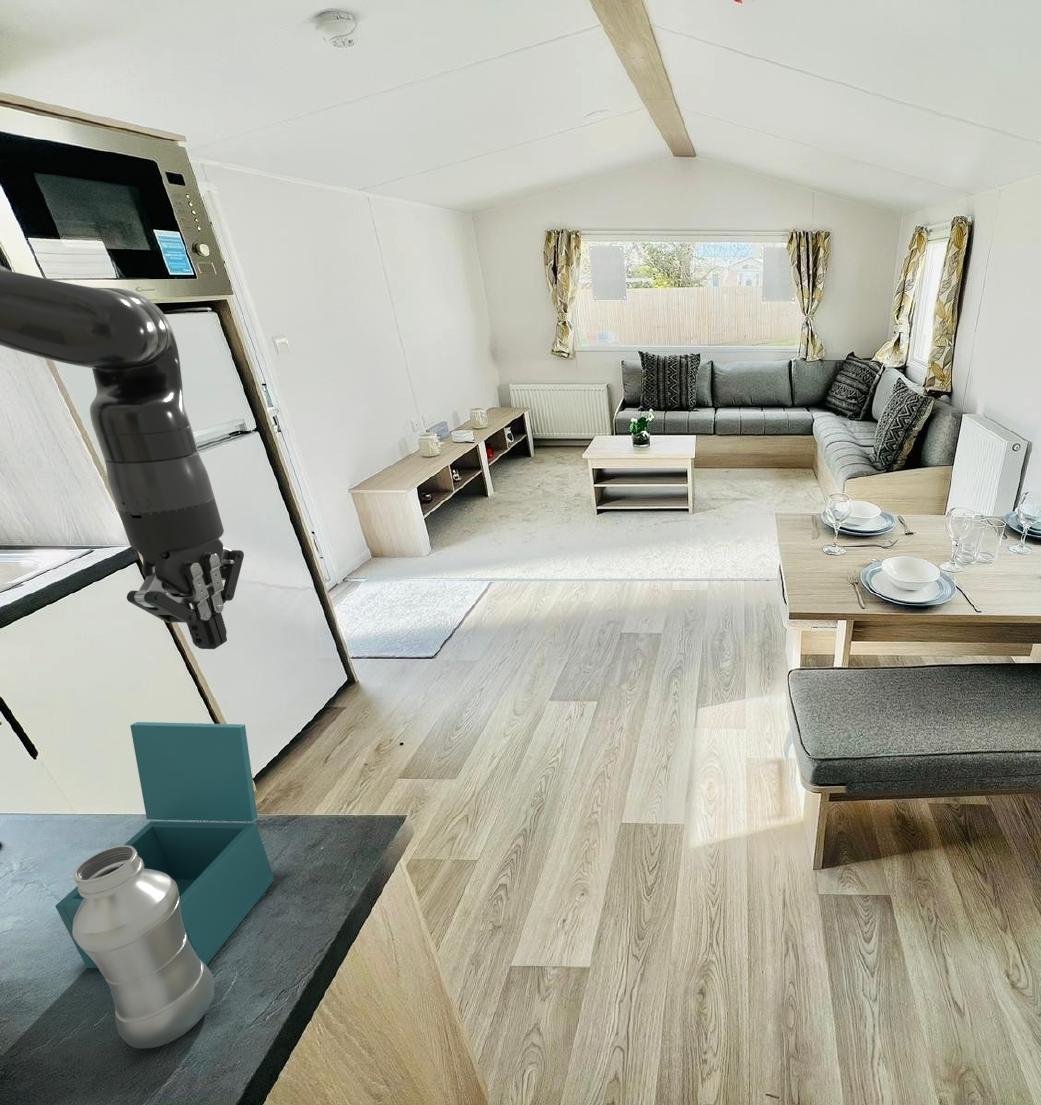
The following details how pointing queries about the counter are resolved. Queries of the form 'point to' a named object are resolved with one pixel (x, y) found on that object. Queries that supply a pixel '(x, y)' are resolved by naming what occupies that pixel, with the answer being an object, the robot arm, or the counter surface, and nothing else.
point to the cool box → (199, 877)
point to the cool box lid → (194, 771)
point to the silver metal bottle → (140, 947)
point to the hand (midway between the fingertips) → (212, 645)
